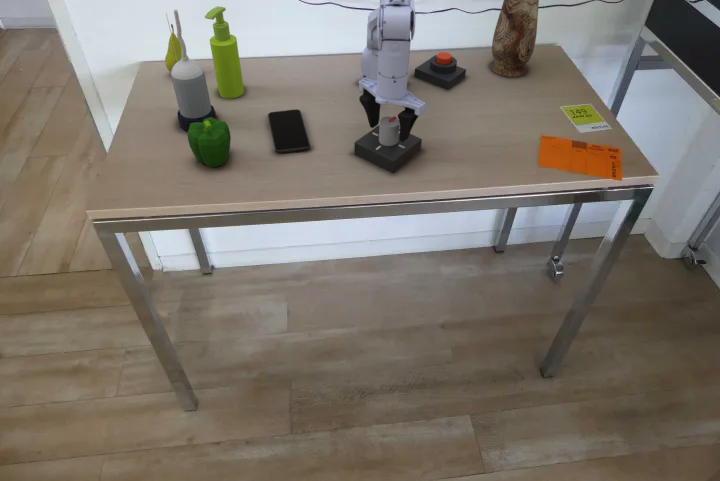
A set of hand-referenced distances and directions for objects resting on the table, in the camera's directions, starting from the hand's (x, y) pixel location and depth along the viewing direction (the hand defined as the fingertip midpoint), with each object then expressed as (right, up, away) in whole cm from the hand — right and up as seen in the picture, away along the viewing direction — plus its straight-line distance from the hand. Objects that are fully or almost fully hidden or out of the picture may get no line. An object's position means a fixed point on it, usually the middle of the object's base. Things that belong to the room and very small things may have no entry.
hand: (388, 132), depth 114 cm
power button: (+15, +22, +25) cm, 36 cm away
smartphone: (-21, +2, +8) cm, 23 cm away
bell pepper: (-36, -6, +1) cm, 36 cm away
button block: (+14, +19, +27) cm, 36 cm away
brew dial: (0, -1, +1) cm, 2 cm away
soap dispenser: (-37, +13, +19) cm, 44 cm away
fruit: (-51, +19, +25) cm, 60 cm away
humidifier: (-42, +4, +10) cm, 43 cm away
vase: (+32, +22, +30) cm, 49 cm away
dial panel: (0, -4, +4) cm, 5 cm away
